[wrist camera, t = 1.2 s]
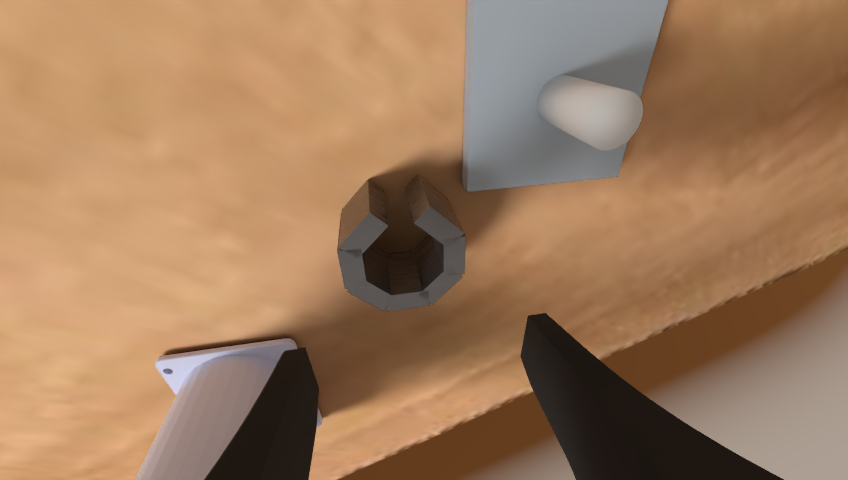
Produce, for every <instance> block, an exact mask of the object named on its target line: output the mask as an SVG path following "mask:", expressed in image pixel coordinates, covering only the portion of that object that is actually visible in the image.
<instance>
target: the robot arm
mask: <svg viewBox="0 0 848 480" xmlns="http://www.w3.org/2000/svg"><path fill="white" fill-rule="evenodd" d="M521 359H522V362H523V365H524V368H525V370H526V373H527V376H528V379H529V381H530V384H531V386H532V389H533V391H534V393H535V395H536V397H537V399H538V401H539V403H540V405H541V407H542V409H543V411H544V413H545V415H546V417H547V419H548V421H549V423H550V425H551V427H552V429H553V431H554V433H555V435H556V437H557V439H558V441H559V443H560V445H561V447H562V449H563V451H564V453H565V455H566V457H567V459H568V461H569V463H570V466H571V468H572V470H573V473H574V475H575V478H576V480H784V479H782V478H780V477H778V476H776V475H774V474H772V473H770V472H769V471H767V470H765V469H763V468H761V467H759V466H758V465H756V464H754V463H752V462H750V461H748V460H746V459H745V458H743V457H741V456H739V455H738V454H736V453H734V452H732V451H731V450H729V449H727V448H725V447H724V446H722V445H720V444H719V443H717V442H715V441H714V440H712V439H711V438H709V437H707V436H706V435H704V434H702V433H701V432H699V431H697V430H695V429H694V428H692V427H691V426H689V425H688V424H686V423H684V422H683V421H681V420H680V419H678V418H677V417H675V416H674V415H672V414H671V413H669V412H668V411H666V410H665V409H663V408H662V407H661V406H659V405H658V404H656V403H655V402H653V401H652V400H650V399H649V398H647V397H646V396H645V395H643V394H642V393H640V392H639V391H638V390H636V389H635V388H634V387H633V386H631V385H630V384H628V383H627V382H626V381H625V380H623V379H622V378H621V377H619V376H618V375H617V374H616V373H614V372H613V371H612V370H611V369H609V368H608V367H607V366H606V365H605V364H603V363H602V362H601V361H600V360H599V359H597V358H596V357H595V356H594V355H593V354H591V353H590V352H589V351H588V350H587V349H586V348H584V347H583V346H582V345H581V344H580V343H579V342H577V341H576V340H575V339H574V338H573V337H572V336H571V335H570V334H568V333H567V332H566V331H565V330H564V329H563V328H562V327H561V326H559V325H558V324H557V323H556V322H555V321H554V320H553V319H552V318H550V317H549V316H548V315H547V314H546V313H543V314H536V315H530V316H528V318H527V324H526V329H525V335H524V340H523V346H522V351H521ZM155 366H156V368H157V369H158V371H159V372H160V373H161V375H162V376H163V378H164V379H165V380H166V382H167V383H168V385H169V386H170V387H171V389H172V390H173V392H174V393H175V394H176V397H175V399H174V401H173V403H172V405H171V407H170V409H169V411H168V413H167V415H166V417H165V420H164V422H163V424H162V426H161V428H160V430H159V432H158V434H157V436H156V438H155V440H154V442H153V444H152V446H151V448H150V450H149V452H148V454H147V456H146V458H145V460H144V462H143V464H142V466H141V468H140V470H139V472H138V474H137V476H136V478H135V480H308V478H309V472H310V466H311V459H312V453H313V446H314V440H315V433H316V427H319V426H321V424H322V416H321V413H320V411H319V408H318V394H319V387H318V384H317V381H316V378H315V375H314V372H313V369H312V366H311V363H310V360H309V358H308V355H307V352H306V349H305V348H300V349H298V348H297V345H296V343H295V341H294V340H292V339H289V338H285V339H278V340H271V341H263V342H256V343H249V344H242V345H235V346H228V347H221V348H214V349H207V350H200V351H193V352H186V353H179V354H171V355H164V356H160V357H159V358H158V359H157V361H156V362H155Z"/></svg>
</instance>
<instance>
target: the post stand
mask: <svg viewBox="0 0 848 480" xmlns="http://www.w3.org/2000/svg"><path fill="white" fill-rule="evenodd" d="M667 4H668V0H467V17H466V55H465V92H464V129H463V167H462V185H463V186H464V188H465V189H466V191H467V192H472V191H482V190H492V189H502V188H512V187H522V186H532V185H542V184H552V183H562V182H572V181H581V180H591V179H601V178H611V177H618V174H619V170H620V167H621V163H622V160H623V156H624V153H625V149H626V146H627V142H628V140H629V139H630V138H631V137H632V136H633V135H634V133H635V132H636V130H637V129H638V127H639V125H640V123H641V120H642V116H643V105H642V101H641V99H640V97H641V94H642V90H643V87H644V84H645V80H646V77H647V73H648V70H649V66H650V63H651V59H652V56H653V52H654V49H655V45H656V42H657V38H658V35H659V32H660V28H661V25H662V21H663V18H664V14H665V11H666V7H667Z"/></svg>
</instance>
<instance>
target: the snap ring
mask: <svg viewBox="0 0 848 480" xmlns="http://www.w3.org/2000/svg"><path fill="white" fill-rule="evenodd" d="M405 192H406V196H407V200H408V203H409V207H410V211H411V214H412V218H413V222H414V224H416V225H417V226H418V227H420V228H421V229H423V230H424V231H425V232H427V233H428V234H429V235H428V236H427V237H426V238H425V239H424V240H423V241H422V242H421V243H420V244H419V245H418V246H417V247H416V248H415V249H414V250H413V251H408V252H400V253H391V254H386V253H384V252H383V251H381V250H380V249H378V248H376V247H375V246H373V245H372V243H373V242H374V241H375V240H376V239H377V238H378V237H379V236H380V235H381V233H382V232H383V231H384V230H385V229H386V228H387V227H388V226H389V225H388V218H387V211H386V204H385V196H384V191H383V190H381V189H380V188H379V187H377V186H376V185H375V184H373V183H372V182H371V181H369V180H367V181H366V182H365V183H364V185H363V186H362V187H361V188H360V189H359V190H358V192H357V193H356V194H355V195H354V196H353V197H352V199H351V200H350V201H349V202H348V203H347V204H346V206H345V207H344V208H343V209H342V213H341V219H340V229H339V239H338V249H337V253H338V257H339V262H340V267H341V272H342V276H343V281H344V286H345V289H348V292H349V293H350V294H352V295H354V296H356V297H358V298H360V299H362V300H363V301H365V302H367V303H369V304H371V305H373V306H375V307H376V308H378V309H380V310H382V311H384V310H385V309H386V308H387V312H388V311H395V310H403V309H410V308H417V307H424V306H429V302H430V303H432V304H434V303H435V302H436V301H437V300H438V299H439V298H440V297H441V296H442V295H443V294H445V293H446V292H447V291H448V290H449V289H450V288H451V287H452V286H453V285H455V284H456V283H457V282H458V281H459V280H460V279H461V278H462V274H464V270H465V243H466V236H465V234H464V232H463V230H462V228H461V226H460V224H459V222H458V220H457V218H456V216H455V214H454V212H453V210H452V208H451V206H450V204H449V201H448V199H447V198H446V197H444V196H443V195H442V194H441V193H439V192H438V191H437V190H436V189H435V188H433V187H432V186H431V185H430V184H429V183H427V182H426V181H425V180H424V179H422V178H421V177H420V176H419V175H417V176H416V178H415V179H414V180H413V181H412V182H411V183H410V184H409V185H408V186H407V187H406V188H405Z"/></svg>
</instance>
